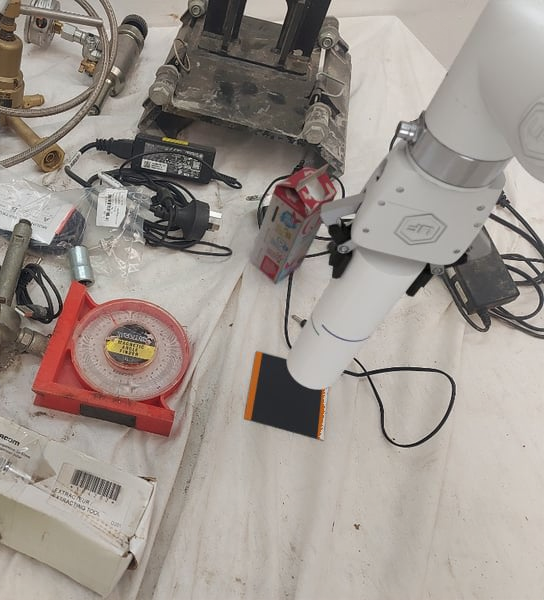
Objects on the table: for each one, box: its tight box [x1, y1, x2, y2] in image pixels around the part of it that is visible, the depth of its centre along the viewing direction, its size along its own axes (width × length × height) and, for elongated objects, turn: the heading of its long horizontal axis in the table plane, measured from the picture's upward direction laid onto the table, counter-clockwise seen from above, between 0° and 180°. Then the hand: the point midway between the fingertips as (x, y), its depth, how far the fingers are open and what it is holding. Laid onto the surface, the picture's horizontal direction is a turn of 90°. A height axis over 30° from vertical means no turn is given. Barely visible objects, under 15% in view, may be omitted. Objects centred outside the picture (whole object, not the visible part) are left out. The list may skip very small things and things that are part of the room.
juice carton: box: [248, 163, 338, 285], centre depth 94 cm, size 7×7×22 cm
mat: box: [243, 350, 327, 440], centre depth 89 cm, size 12×12×1 cm
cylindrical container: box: [286, 246, 427, 390], centre depth 68 cm, size 7×7×25 cm
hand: (372, 276), depth 61 cm, fingers closed on cylindrical container, 7 cm apart
